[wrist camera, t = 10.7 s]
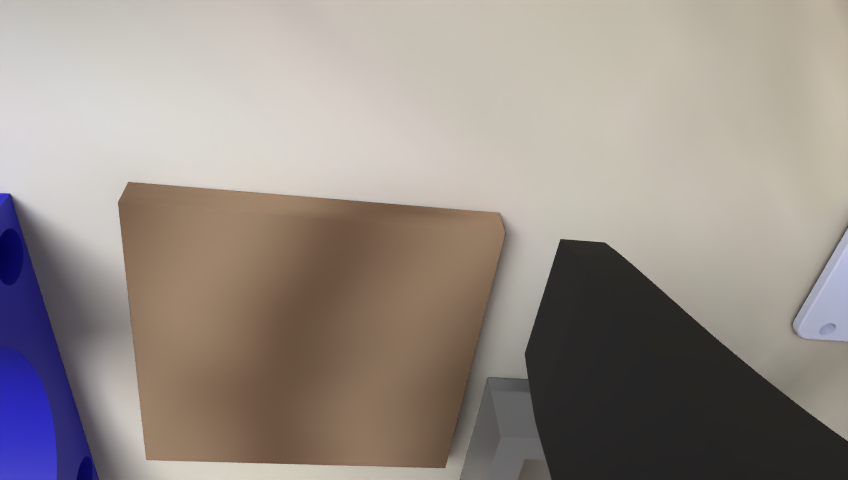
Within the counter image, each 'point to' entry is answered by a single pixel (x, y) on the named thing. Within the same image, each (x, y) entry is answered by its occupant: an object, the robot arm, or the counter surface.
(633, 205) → the counter surface
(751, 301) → the counter surface
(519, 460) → the parts tray
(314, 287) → the brown square tile
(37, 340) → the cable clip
